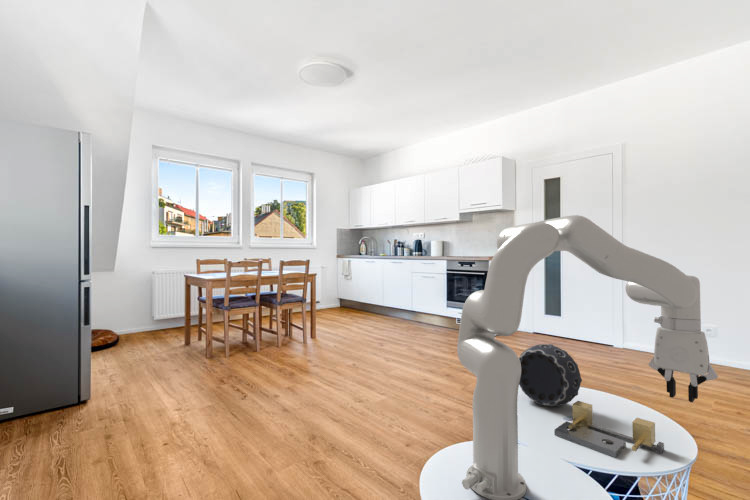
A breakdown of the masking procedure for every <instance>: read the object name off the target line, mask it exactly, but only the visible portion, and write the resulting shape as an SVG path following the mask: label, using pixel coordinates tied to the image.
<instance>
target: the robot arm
mask: <svg viewBox="0 0 750 500" xmlns="http://www.w3.org/2000/svg"><path fill="white" fill-rule="evenodd" d="M496 247H497V250H496V252H495V253H494V255H493V256H492V259H491V261H490V263H489V265H488V270H487V275H486V279H485V285H484V289H480V290H477V291H474V292H472V293H471V294H469V296H468V297H467V298H466V300H465V302H464V304H463V306H462V310H461V316H460V317H461V318H460V323H459V331H458V338H457V345H456V347H457V348H456V351H457V357H458V360H459V362H460V364H461V365H462V367H464V368H465V369H466V370H467V371H469V372H470V373H471V374H473V375H474V376H476V382H475V383H476V384H475V387H474V390H473V394H472V443H473V444H472V447H473V448H472V453H473V454H472V456H473V457H472V459H473V461H472V463H473V464H472V465H471V466H469V467H468V468H467V470H466V477H465V478H464V479H462V481H461V484H462V487H463V488H464V489H465V490H470V489H472V490H473V491H474V492H475V493H476V494H478V495H480V496H482V497H483V498H485V499H488V500H519V499H521V498H522V497H524V496H525V494H526V491H527V483H526V479H525V478H524V477H523V476H522V475H521V473H519V445H518V444H519V443H518V442H519V440H518V439H519V438H518V436H519V434H518V433H519V431H518V397H519V388H520V385H519V382H520V377H521V363H520V359H519V357H520V356H519V355H518V354H517V353H516V351H515V350H514V349H513V348H511V347H510V346H509V345H508V344H507V343H504V342H502V341H499V340H497V339H495V337H496V336H498V337H499V336H501V337H509V336H512V335H514V334H515V333H517V331H518V330H519V328H520V324H521V319H522V315H523V313H522V312H523V306H524V299H525V292H526V291H525V290H526V284H527V280H528V277H529V275H530V273H531V271H532V270H533V268H534V267H535V266H536V265H537V264H538V263H539V262H540V261H542V260H543V259H545V258H548V257H549V256H551V255H552V254H553V253H554V252H568V253H569V254H572V255H573V256H574V257H576V258H577V259H579V260H580V261H581V262H583V263H584V264H586V265H587V266H588V267H590V268H591V269H593V270H594V271H596V272H597V273H599V274H601V275H603V276H606V277H610V278H611V279H616V280H621V281H626V284H625V293H626V295H627V297H628V298H630V299H631V301H633V302H636V303H638V304H642V305H649V306H657V307H660V313H661V314H660V316H659V317H656V316H655V317H653V322H654V323H658V324H659V325H660V326H659V327H657V328H656V334H655V339H654V350H653V351H654V353H653V358H652V359H651V360H650V361H649V363H648V366H649V367H650V368H651V369H653V370H655V371H657V373H659V374H660V375H661V376H662V377H663V378H664V380H665V381H666V393H669V394H668V395H669V398H670V399H671V398H675V396H676V395H677V392H676V391H677V388H676V386H677V385H676V383H677V382H676V379H675V378H674V372H679V373H686V374H688V375H689V378H690V379H689V380H690V382H689V384H688V385H687V386H688V387H687V389H688V392H687V393H688V397H687V399H688V402H689V403H694V401H695V400H698V398H699V390H698V389H699V386H700V385H701V384H703V383H705V382H707V381H711V380H717V378H718V377H719V376H718V374H717V372H716V370H715V369H714V368H713V366H712V364H711V363H710V355H709V345H708V342H707V336H706V334H705V331H702V327H701V326H702V325H701V324H702V321H701V319H702V318H701V314H702V313H701V283H700V279H699V278H698V277H696V276H694V275H688V274H685V273H684V272H683V271H681V270H680V269H679V268H677V267H676V266H675V265H673V264H672V263H669V262H667V261H665V260H663V259H661V258H659V257H656V256H653V255H650V254H648V253H645V252H643V251H641V250H639V249H635V248H632V247H629V246H627V245H626V244H623V243H622V242H621V241H619V240H618V239H617V238H615V237H613V235H612V234H610V233H608V231H606V230H604V229H603V228H602V227H600V226H599V225H597V224H596V223H594V221H592V220H591V219H589V218H587V217H585V216H583V215H577V214H576V215H575V214H573V215H566V216H561V217H555V218H549V219H545V220H541V221H535V222H531V223H524V224H519V225H513V226H508V227H506V228H504V229H503V230H502V231H501V232H500V233H499V235H498V236H497V238H496Z"/></svg>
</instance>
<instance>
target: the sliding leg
mask: <svg viewBox="0 0 750 500" xmlns="http://www.w3.org/2000/svg"><path fill="white" fill-rule="evenodd" d="M631 425H632V426H631V427H632V437H633V441H635V442H636V443H635V444H632V446H631V451H633V452H635V453H636V452H637V451H638V449H639V448H640V447H641V445H642V444H644V445H647V446H650V447H652V445H653V444H654V445H655V443H656V423H655V422H653V421H650V420H648V419H647V420H646V419H643V418H640V417H636V418H635V419H634V420H633V421H632V423H631Z"/></svg>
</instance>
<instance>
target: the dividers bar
mask: <svg viewBox="0 0 750 500" xmlns="http://www.w3.org/2000/svg"><path fill="white" fill-rule="evenodd" d="M593 416H594V414H593V404H592V403H591V404H590V403H589V402H588V403H587V402H584V401H580V400H576V401H575V402H573V403H572V422H570V423H571V424H570V425H569V429H573V428H574V427H575V426H577V425H579V426H582V427H585V428H588V429H591V430H594V431H597V432H600V433H603V434H606V435H609V436H612V437H615V438H618V439H621V440H624V441H626V443H630V444H632V445H634V444H635V443H636V442H635V441H633V436H629V435H625V434H623V433H619V432H617V431H613V430H610V429H607V428H605V427H602V426H598V425H595V424H593V423H594V421H593V420H594V418H593ZM640 447H642V448H645V449H648V450H650V451H654V452H656V453H657V454H659V455H663V453H664V452H665V443H664V442H662V441H658V443H657V444H655V443H654V444H653V445H652V447H650V446H647V445H644V444H642V445H641V446H640Z"/></svg>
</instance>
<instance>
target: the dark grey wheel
mask: <svg viewBox="0 0 750 500" xmlns="http://www.w3.org/2000/svg"><path fill="white" fill-rule="evenodd" d="M518 357H519V359H520V363H521V377H520V382H519V388H520V389H521V391H522V392H523V393H524V394H525V395H526V396H527V397H528V399H530V400H531V401H533V402H535V403H537V404H539V405H541V406H545V407H553V408H554V407H560V406H563V405H566V404H568V403H570V402H571V401H573V399H574V398H575V397H577V396H578V395H579V390H580V388H581V384H582V382H583V379H582V377H581V373H580V369H579V365H578V363H577V362H576V361H575V359H573V357H572V356H571V355H570V353H568V351H567V350H565V349H562V348H560V347H558V346H555V345H553V344H552V343H548V344H546V343H544V344H543V343H542V344H541V343H540V344H535V345H533V346H530V347H528V348H526V349H525V350H524V351H523V352H521V354H520V355H519V356H518Z"/></svg>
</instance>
